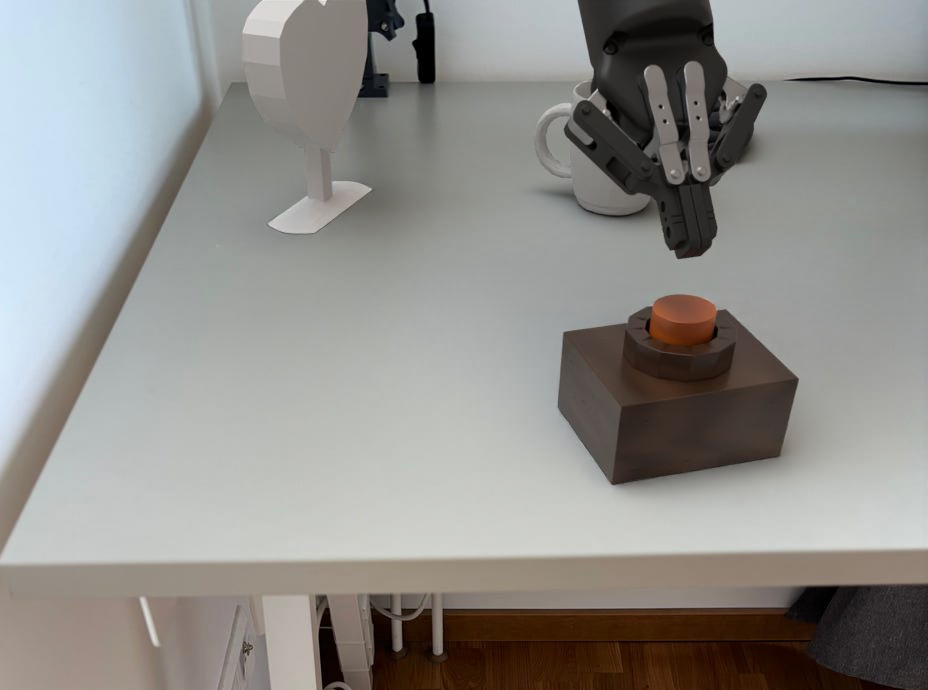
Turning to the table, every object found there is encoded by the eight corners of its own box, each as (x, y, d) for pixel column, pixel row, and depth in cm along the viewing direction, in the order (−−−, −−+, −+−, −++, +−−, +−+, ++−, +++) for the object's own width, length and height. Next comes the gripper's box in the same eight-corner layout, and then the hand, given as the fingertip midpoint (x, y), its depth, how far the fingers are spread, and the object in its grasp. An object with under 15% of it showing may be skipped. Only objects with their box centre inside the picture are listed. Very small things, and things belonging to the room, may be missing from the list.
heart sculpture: (336, 174, 109) (323, -33, 97) (381, 182, 107) (373, -27, 95) (255, 231, 98) (228, 7, 86) (303, 241, 97) (283, 14, 85)
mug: (671, 195, 105) (686, 83, 98) (643, 228, 99) (657, 111, 92) (548, 174, 109) (555, 65, 102) (514, 205, 103) (519, 92, 96)
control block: (712, 382, 79) (730, 283, 74) (780, 456, 72) (806, 352, 67) (557, 406, 76) (564, 305, 71) (611, 485, 69) (624, 379, 64)
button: (695, 316, 71) (699, 290, 70) (723, 344, 68) (728, 318, 67) (638, 323, 70) (642, 298, 69) (665, 352, 67) (668, 326, 66)
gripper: (551, -61, 61) (614, 240, 61) (764, -75, 64) (826, 213, 63) (517, 22, 68) (573, 290, 68) (709, 6, 71) (764, 264, 71)
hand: (695, 252), depth 66 cm, fingers closed
